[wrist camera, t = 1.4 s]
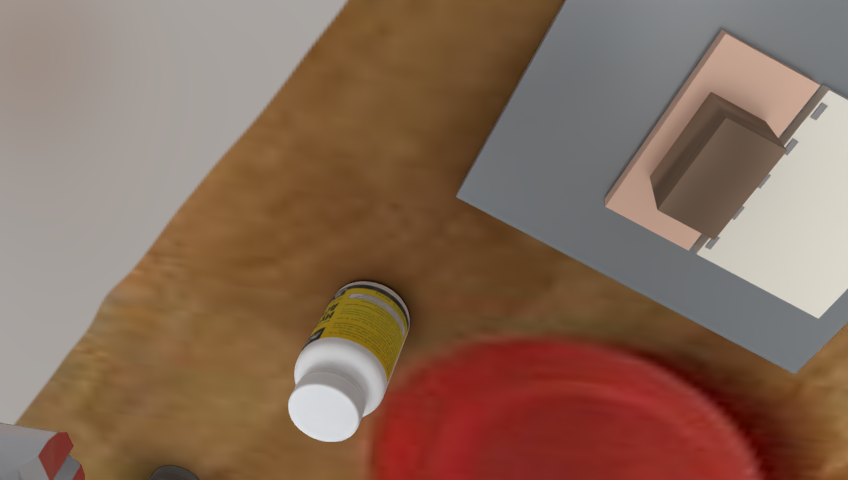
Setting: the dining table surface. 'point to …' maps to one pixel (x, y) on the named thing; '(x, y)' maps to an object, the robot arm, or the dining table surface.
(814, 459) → the dining table surface
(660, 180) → the brown and pink block
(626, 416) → the dining table surface
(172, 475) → the beverage cup
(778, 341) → the board
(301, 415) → the supplement bottle
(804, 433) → the dining table surface
